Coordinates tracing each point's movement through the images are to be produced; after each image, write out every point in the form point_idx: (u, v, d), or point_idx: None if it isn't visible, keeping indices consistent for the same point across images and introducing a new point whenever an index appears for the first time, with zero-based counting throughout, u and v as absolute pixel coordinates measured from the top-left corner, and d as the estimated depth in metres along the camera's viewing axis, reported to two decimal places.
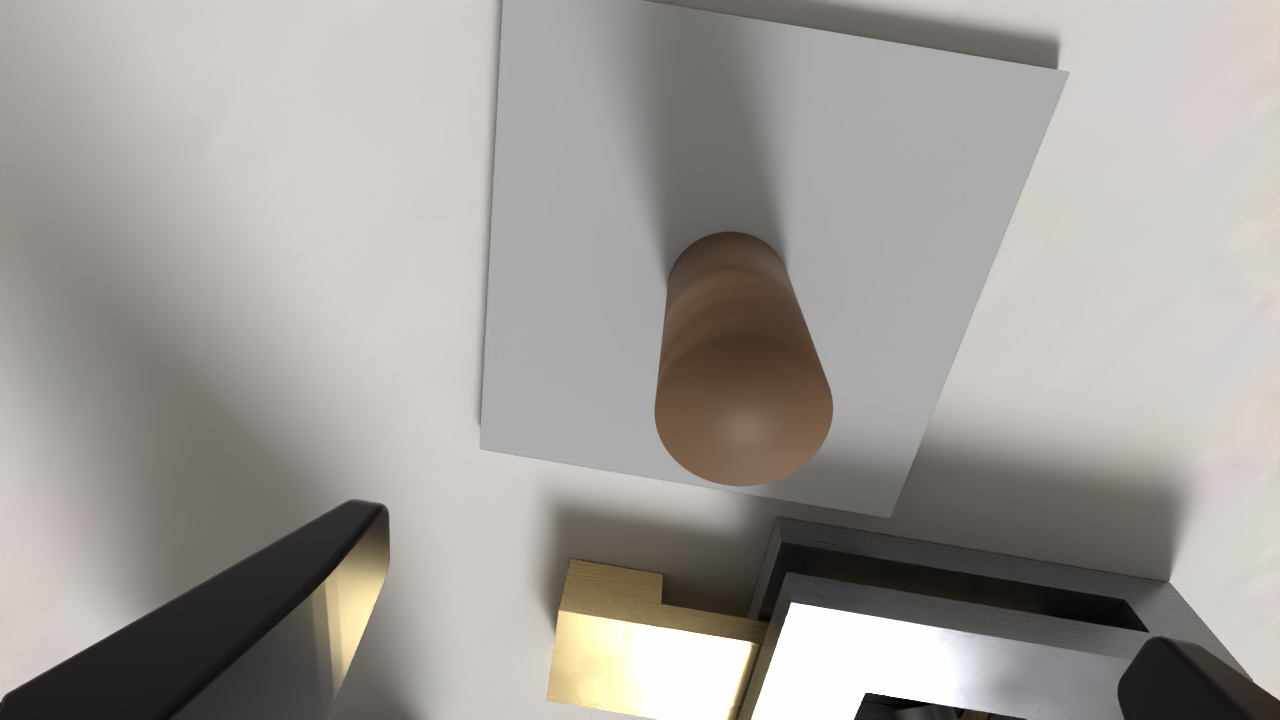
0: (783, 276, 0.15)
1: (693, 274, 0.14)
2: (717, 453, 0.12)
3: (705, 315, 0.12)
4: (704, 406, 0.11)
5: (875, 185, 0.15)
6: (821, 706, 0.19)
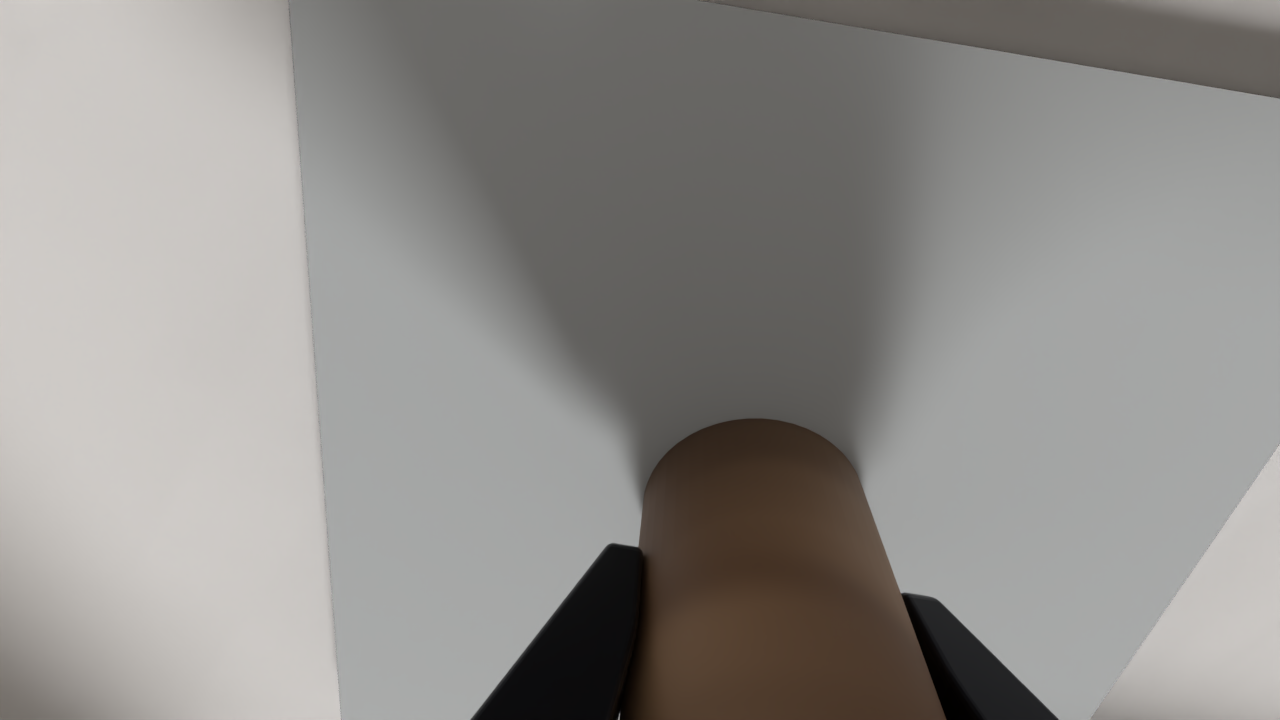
0: (875, 554, 0.07)
1: (688, 564, 0.07)
2: None
3: None
4: None
5: (1044, 345, 0.08)
6: None
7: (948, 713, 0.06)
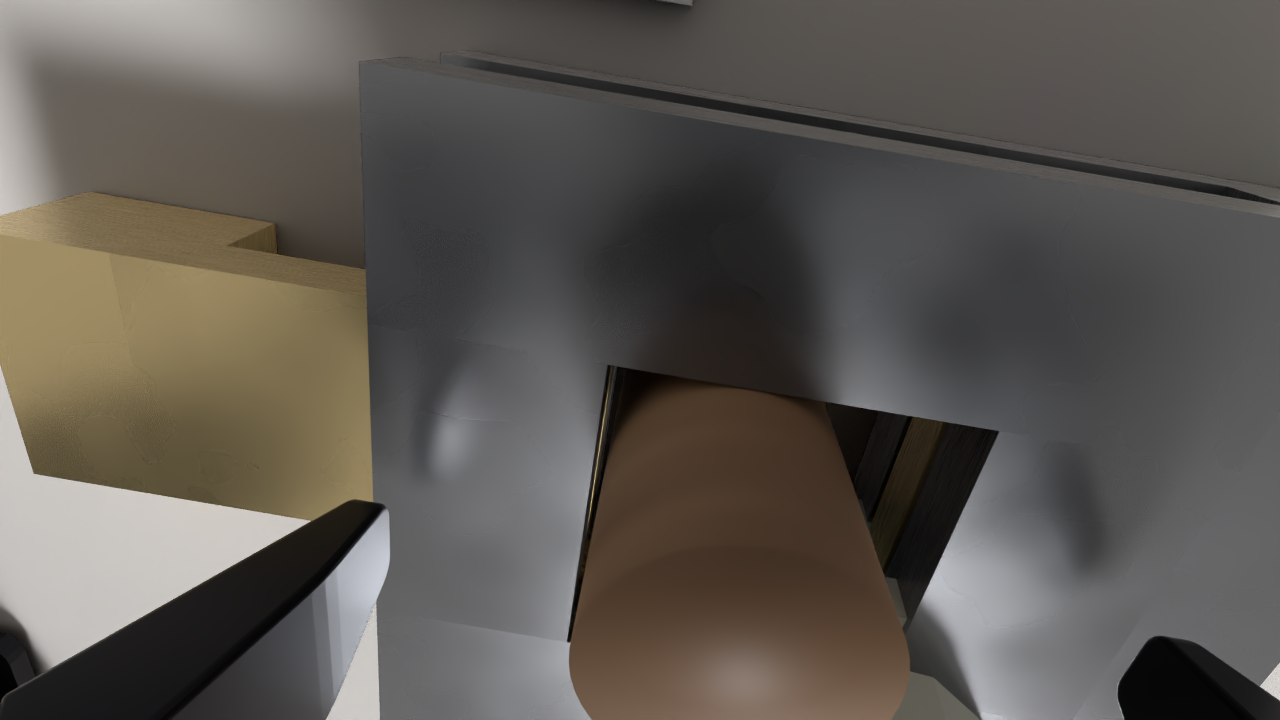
0: None
1: None
2: None
3: (707, 464, 0.06)
4: (669, 647, 0.06)
5: None
6: (515, 414, 0.08)
7: None
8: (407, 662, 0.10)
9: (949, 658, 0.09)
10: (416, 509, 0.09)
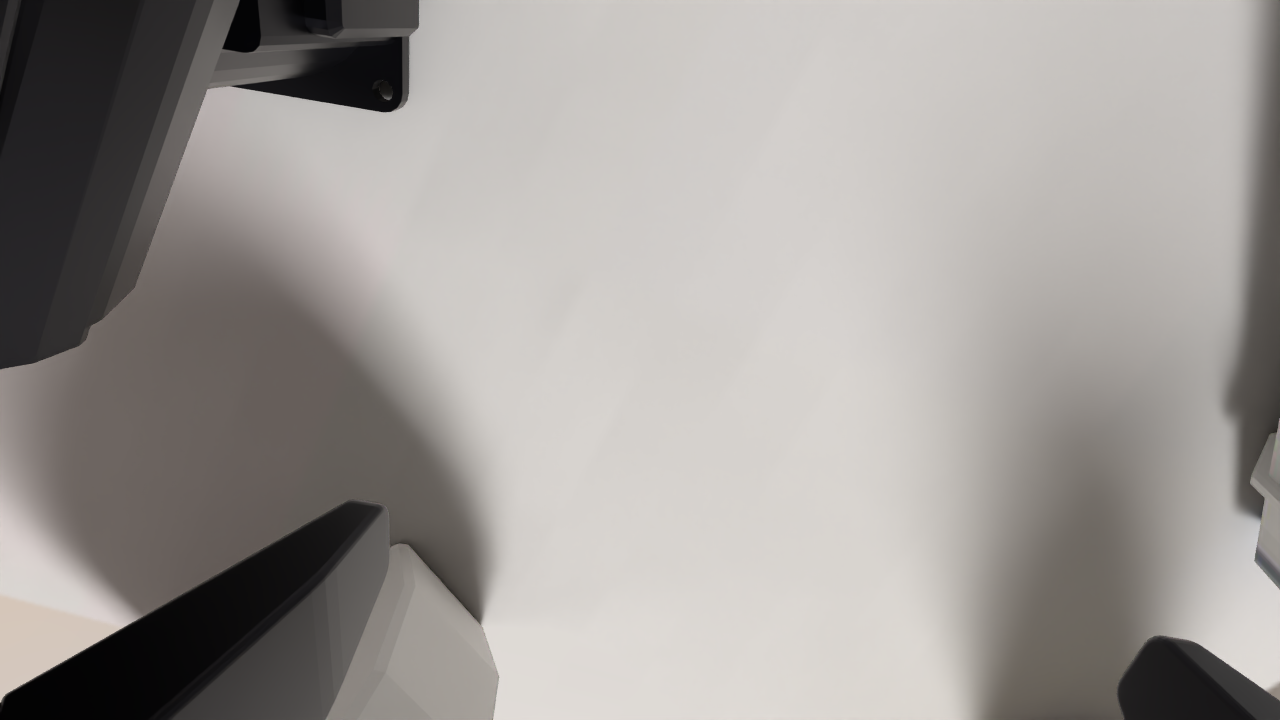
0: None
1: None
2: None
3: None
4: None
5: None
6: None
7: None
8: None
9: None
10: None
